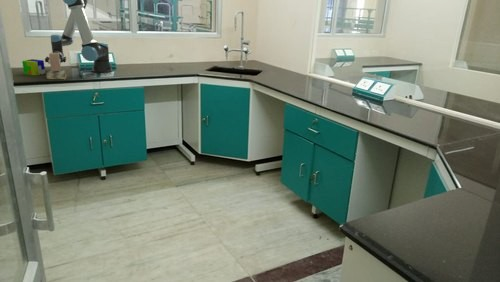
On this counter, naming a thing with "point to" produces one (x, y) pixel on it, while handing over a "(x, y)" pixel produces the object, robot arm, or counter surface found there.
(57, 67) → the pillar block
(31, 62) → the puzzle toy
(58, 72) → the pedestal
